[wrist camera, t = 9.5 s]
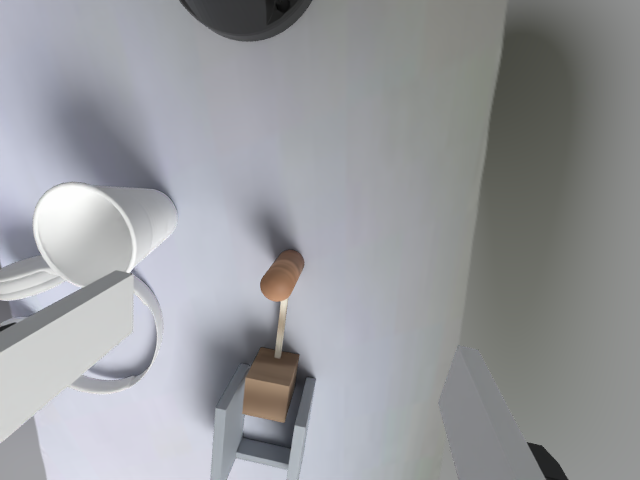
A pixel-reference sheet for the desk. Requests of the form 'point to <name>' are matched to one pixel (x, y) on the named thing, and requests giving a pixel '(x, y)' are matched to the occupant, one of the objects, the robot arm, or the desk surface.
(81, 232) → the cup
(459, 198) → the desk surface
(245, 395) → the tethered block
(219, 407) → the lane
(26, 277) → the headphones
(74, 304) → the robot arm
